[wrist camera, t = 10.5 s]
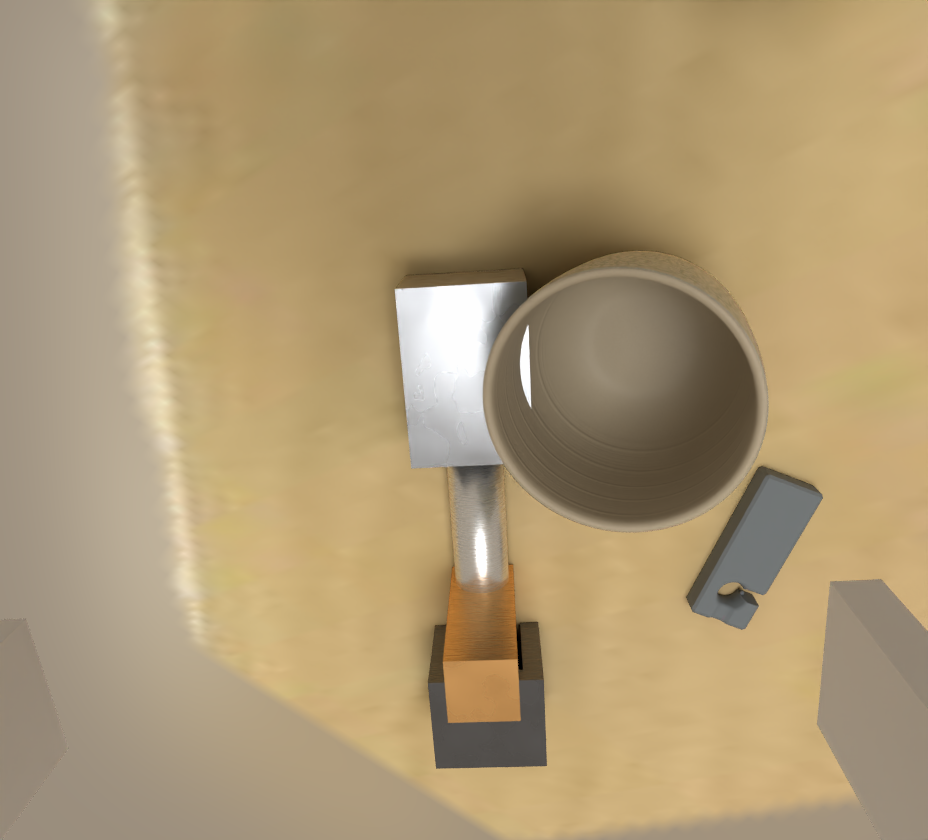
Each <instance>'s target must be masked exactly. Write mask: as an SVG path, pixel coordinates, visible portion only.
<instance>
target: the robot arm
mask: <svg viewBox="0 0 928 840" xmlns="http://www.w3.org/2000/svg"><path fill="white" fill-rule="evenodd" d="M817 725H818V727H819V729H820V730H821V732H822V734H823V736H824V738H825V739H826V741H827V743H828V745H829V747H830V748H831V750H832V752H833V754H834V756H835V758H836V759H837V761H838V763H839V765H840V767H841V768H842V770H843V772H844V774H845V776H846V778H847V779H848V781H849V783H850V785H851V787H852V788H853V790H854V792H855V794H856V796H857V798H858V799H859V801H860V803H861V805H862V807H863V808H864V810H865V812H866V814H867V816H868V817H869V819H870V821H871V823H872V825H873V827H874V828H875V830H876V832H877V834H878V836H879V838H880V839H881V840H928V631H927V630H926V629H925V628H924V627H923V626H922V625H921V623H920V622H919V621H918V620H917V619H916V618H915V617H914V616H913V614H912V613H911V612H910V611H909V610H908V609H907V608H906V607H905V605H904V604H903V603H902V602H901V601H900V600H899V599H898V598H897V596H896V595H895V594H894V593H893V592H892V591H891V590H890V589H889V587H888V586H887V585H886V584H885V583H884V582H883V581H882V580H881V579H877V580H856V581H834V582H830V589H829V600H828V611H827V622H826V633H825V644H824V654H823V665H822V676H821V687H820V698H819V709H818V720H817ZM68 748H69V747H68V744H67V741H66V738H65V735H64V732H63V729H62V726H61V723H60V720H59V717H58V714H57V711H56V708H55V705H54V702H53V699H52V696H51V693H50V690H49V687H48V684H47V681H46V678H45V675H44V671H43V669H42V666H41V662H40V659H39V656H38V654H37V650H36V647H35V644H34V641H33V639H32V635H31V632H30V629H29V626H28V623H27V620H26V619H4V620H0V840H2V839H3V838H4V837H5V835H6V834H7V832H8V831H9V830H10V828H11V827H12V826H13V824H14V823H15V821H16V820H17V819H18V817H19V816H20V814H21V813H22V812H23V810H24V809H25V808H26V806H27V805H28V803H29V802H30V801H31V799H32V798H33V797H34V795H35V794H36V793H37V791H38V790H39V788H40V787H41V786H42V784H43V783H44V781H45V780H46V779H47V777H48V776H49V775H50V773H51V772H52V770H53V769H54V768H55V766H56V765H57V764H58V762H59V761H60V760H61V758H62V757H63V755H64V754H65V753H66V751H67V750H68Z"/></svg>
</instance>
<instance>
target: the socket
mask: <svg viewBox="0 0 928 840" xmlns="http://www.w3.org/2000/svg"><path fill="white" fill-rule="evenodd" d="M446 626H447V625H441V626H435V632H434V640H433V648H432V656H431V663H430V671H429V679H428V688H429V699H430V709H431V720H432V730H433V741H434V751H435V762H436V769H437V768H481V767H525V766H547V759H546V731H545V703H544V678H543V668H542V658H541V648H540V638H539V628H538V622H530V623H520V628H521V649H522V670H518V676H519V696H520V717H521V721H501V722H463V723H448V716H447V705H446V693H445V682H444V670H443V655H444V645H445V635H446Z"/></svg>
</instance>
